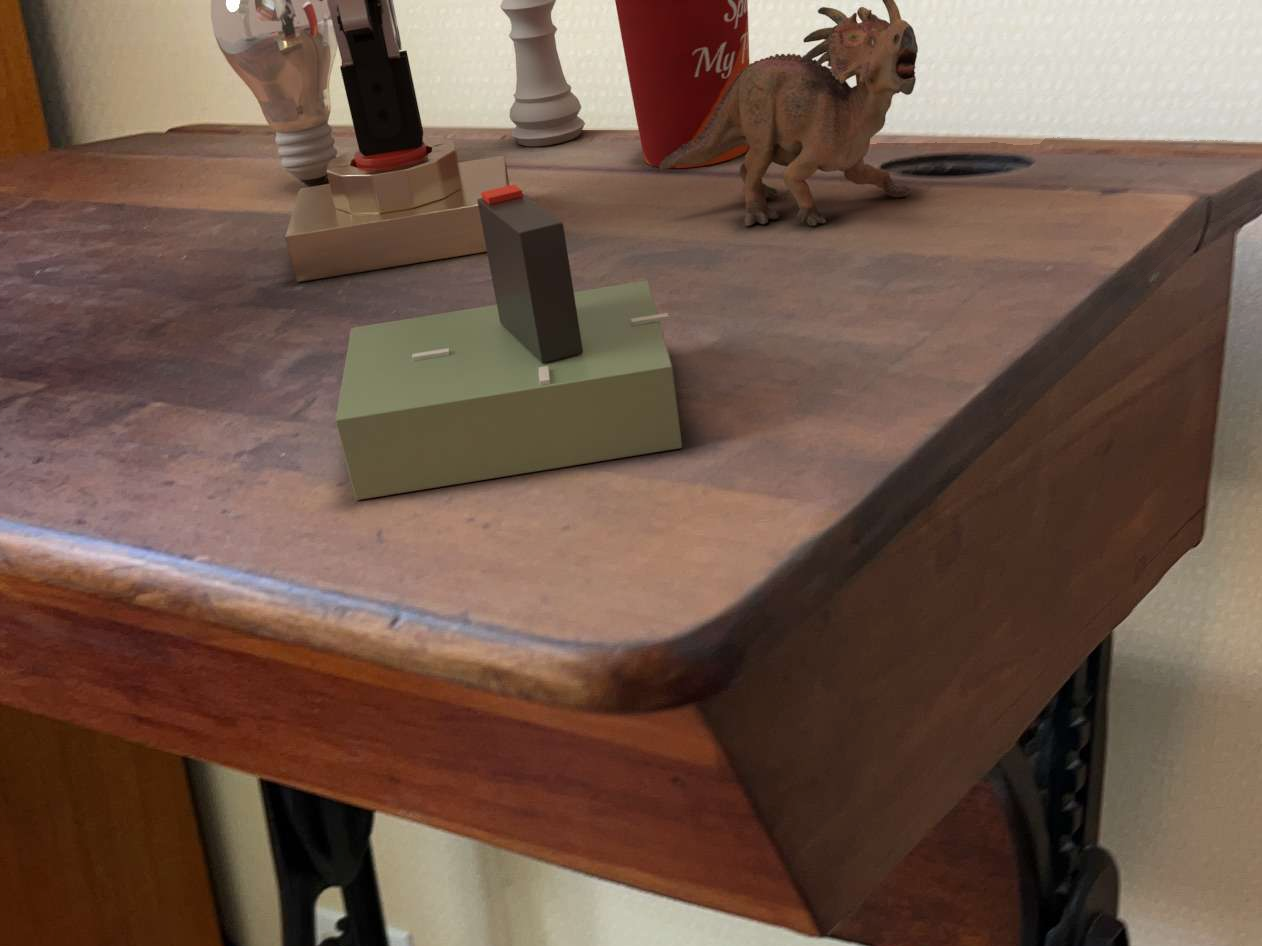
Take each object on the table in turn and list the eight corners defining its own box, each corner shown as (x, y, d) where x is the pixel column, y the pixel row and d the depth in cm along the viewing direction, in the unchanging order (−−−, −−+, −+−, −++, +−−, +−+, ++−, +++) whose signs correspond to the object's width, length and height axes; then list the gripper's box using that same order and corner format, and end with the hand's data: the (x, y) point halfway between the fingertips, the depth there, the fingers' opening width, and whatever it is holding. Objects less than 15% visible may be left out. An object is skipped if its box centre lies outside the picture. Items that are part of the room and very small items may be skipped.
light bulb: (392, 177, 95) (340, -65, 88) (282, 209, 93) (218, -37, 85) (346, 159, 100) (292, -71, 92) (240, 189, 98) (176, -45, 90)
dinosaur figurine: (963, 191, 79) (962, -31, 73) (920, 230, 75) (915, -1, 69) (710, 189, 85) (689, -17, 79) (658, 225, 81) (632, 12, 75)
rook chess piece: (572, 122, 100) (550, -29, 95) (596, 136, 97) (574, -21, 92) (503, 138, 99) (477, -14, 94) (524, 152, 96) (498, -5, 91)
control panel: (355, 500, 60) (333, 415, 58) (368, 401, 67) (349, 323, 65) (691, 447, 59) (681, 359, 57) (666, 354, 67) (656, 274, 65)
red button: (360, 201, 82) (352, 163, 81) (364, 182, 85) (356, 146, 84) (432, 189, 82) (424, 151, 81) (433, 171, 85) (425, 134, 84)
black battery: (583, 353, 60) (561, 214, 56) (542, 364, 59) (518, 225, 56) (539, 313, 64) (516, 182, 61) (499, 323, 63) (475, 191, 60)
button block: (297, 282, 82) (274, 196, 79) (310, 231, 88) (290, 151, 86) (515, 247, 81) (500, 160, 79) (512, 199, 88) (498, 117, 86)
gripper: (370, -327, 65) (466, 174, 76) (385, -333, 76) (467, 103, 88) (182, -295, 65) (308, 200, 77) (226, -306, 76) (329, 126, 88)
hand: (392, 147), depth 82 cm, fingers closed
